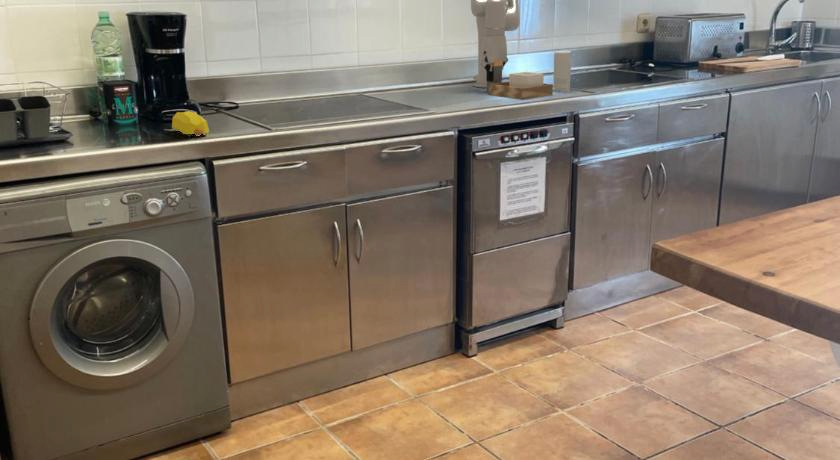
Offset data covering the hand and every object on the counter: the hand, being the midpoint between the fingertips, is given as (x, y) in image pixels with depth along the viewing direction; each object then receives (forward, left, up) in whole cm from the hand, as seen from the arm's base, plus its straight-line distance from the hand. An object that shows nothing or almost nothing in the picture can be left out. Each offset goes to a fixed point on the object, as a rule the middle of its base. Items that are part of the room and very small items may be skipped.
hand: (494, 80), depth 318 cm
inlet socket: (+15, +2, -5) cm, 16 cm away
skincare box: (+16, +21, -5) cm, 27 cm away
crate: (+13, +1, -5) cm, 14 cm away
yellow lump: (-5, -123, -6) cm, 124 cm away
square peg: (0, 0, -4) cm, 4 cm away
